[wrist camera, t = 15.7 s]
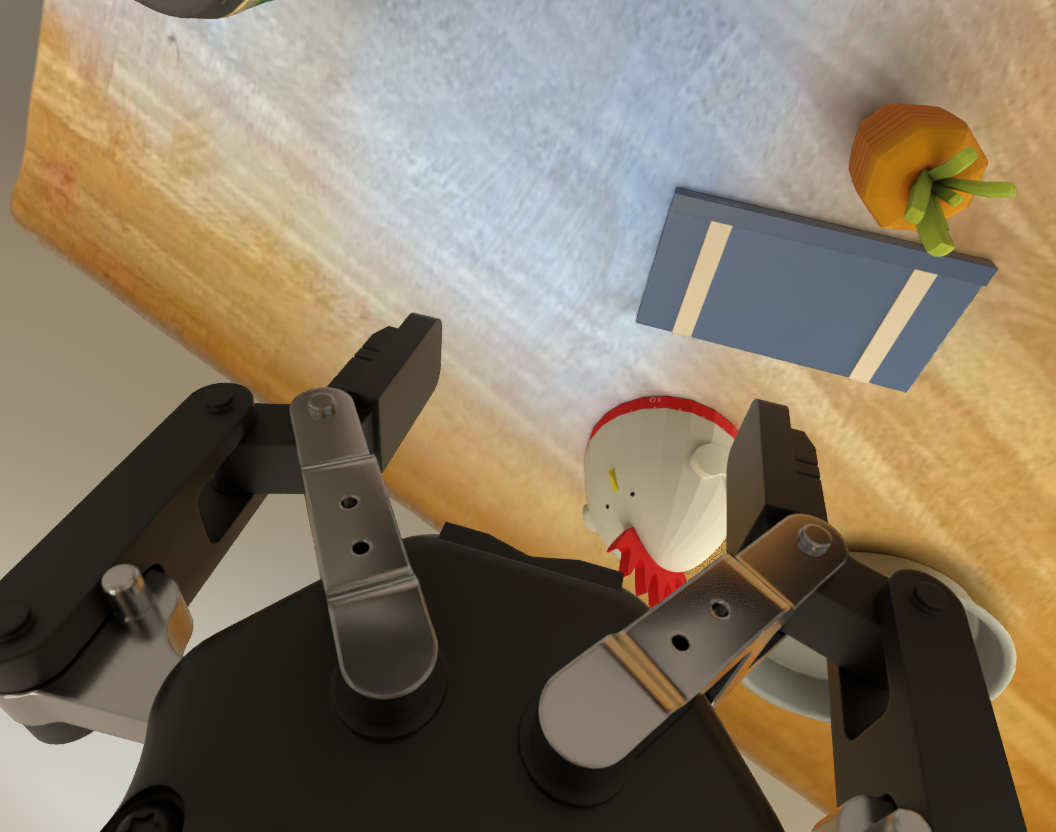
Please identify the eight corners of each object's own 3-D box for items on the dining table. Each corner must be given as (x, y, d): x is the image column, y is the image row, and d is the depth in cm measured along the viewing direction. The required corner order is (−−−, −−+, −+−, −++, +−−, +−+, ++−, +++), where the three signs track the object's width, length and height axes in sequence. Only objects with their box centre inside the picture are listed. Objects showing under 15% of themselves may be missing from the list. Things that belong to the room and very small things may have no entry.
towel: (675, 187, 40) (674, 192, 39) (992, 260, 38) (998, 268, 37) (636, 317, 46) (634, 325, 45) (904, 386, 44) (908, 396, 43)
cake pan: (910, 499, 50) (923, 540, 46) (1050, 657, 57) (1071, 703, 53) (672, 588, 64) (669, 625, 61) (807, 705, 71) (811, 744, 68)
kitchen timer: (679, 367, 48) (665, 503, 36) (780, 476, 52) (796, 629, 40) (557, 443, 56) (514, 574, 45) (652, 532, 60) (635, 672, 49)
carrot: (871, 58, 33) (949, 123, 22) (949, 101, 33) (1066, 188, 22) (810, 145, 36) (850, 241, 25) (882, 183, 36) (953, 296, 25)
